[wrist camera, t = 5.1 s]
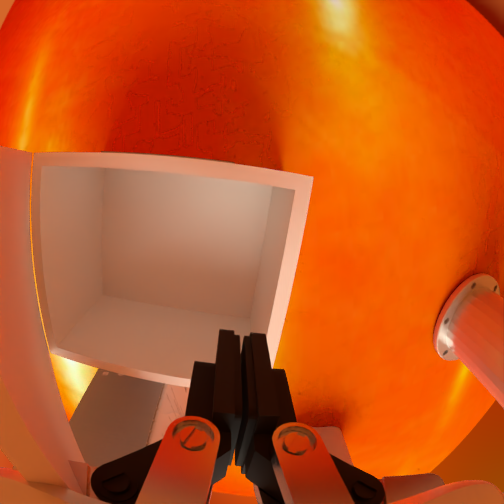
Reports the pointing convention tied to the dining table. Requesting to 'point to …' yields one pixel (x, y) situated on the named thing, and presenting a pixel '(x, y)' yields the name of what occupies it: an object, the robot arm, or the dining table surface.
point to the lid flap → (27, 347)
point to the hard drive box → (124, 415)
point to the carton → (161, 257)
